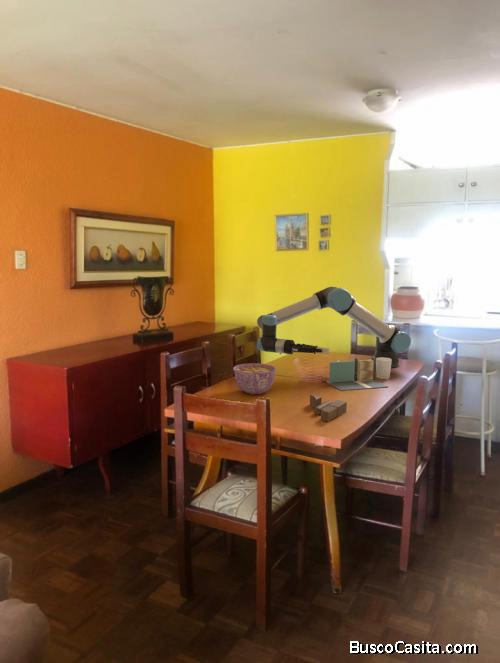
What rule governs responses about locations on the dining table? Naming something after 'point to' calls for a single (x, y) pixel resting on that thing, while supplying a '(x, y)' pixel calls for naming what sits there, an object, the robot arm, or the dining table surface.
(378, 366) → the white cup
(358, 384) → the mat
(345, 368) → the teal rectangular panel
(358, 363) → the tan brown patterned panel
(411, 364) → the dining table surface
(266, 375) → the bowl of food
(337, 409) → the wooden block set
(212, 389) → the dining table surface
